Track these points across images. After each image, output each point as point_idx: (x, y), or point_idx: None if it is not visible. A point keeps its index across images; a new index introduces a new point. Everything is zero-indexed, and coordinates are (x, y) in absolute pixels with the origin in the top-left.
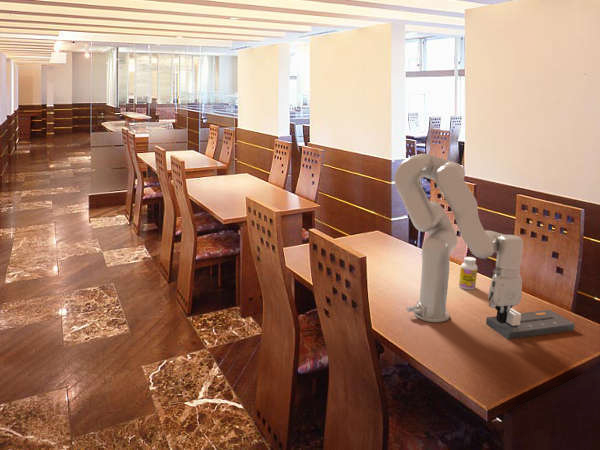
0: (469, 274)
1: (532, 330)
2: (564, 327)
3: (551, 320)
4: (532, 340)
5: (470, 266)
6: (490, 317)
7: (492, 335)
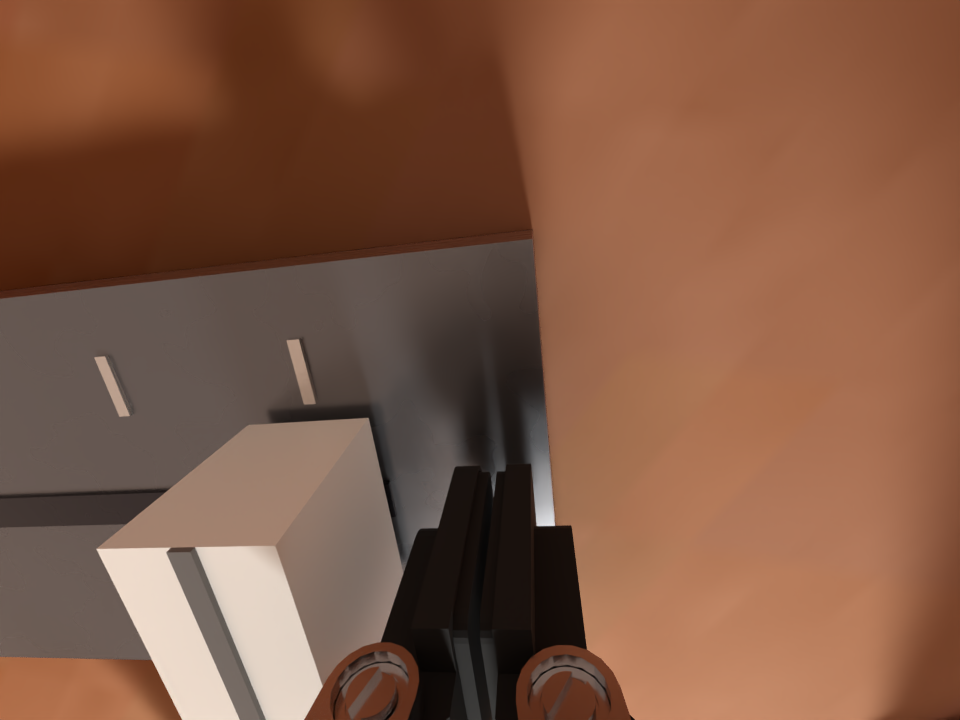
0: None
1: (131, 282)
2: None
3: None
4: (226, 163)
5: None
6: None
7: (665, 364)
